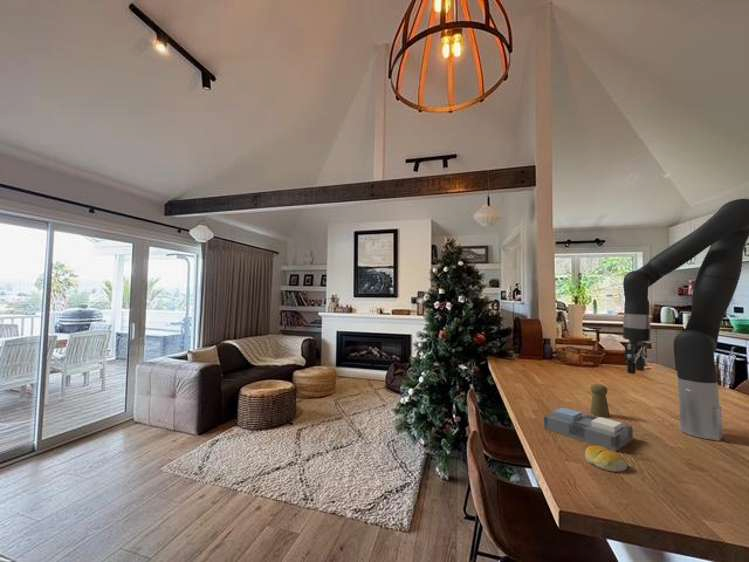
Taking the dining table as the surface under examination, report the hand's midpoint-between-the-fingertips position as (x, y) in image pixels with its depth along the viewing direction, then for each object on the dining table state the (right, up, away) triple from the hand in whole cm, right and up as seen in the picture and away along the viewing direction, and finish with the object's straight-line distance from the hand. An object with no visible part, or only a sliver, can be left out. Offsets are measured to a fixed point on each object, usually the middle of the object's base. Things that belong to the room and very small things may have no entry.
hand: (635, 371), depth 114 cm
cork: (-8, -18, +6) cm, 21 cm away
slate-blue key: (-28, -14, -7) cm, 32 cm away
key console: (-25, -17, -11) cm, 32 cm away
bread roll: (-33, -16, -30) cm, 47 cm away
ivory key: (-22, -14, -16) cm, 30 cm away
